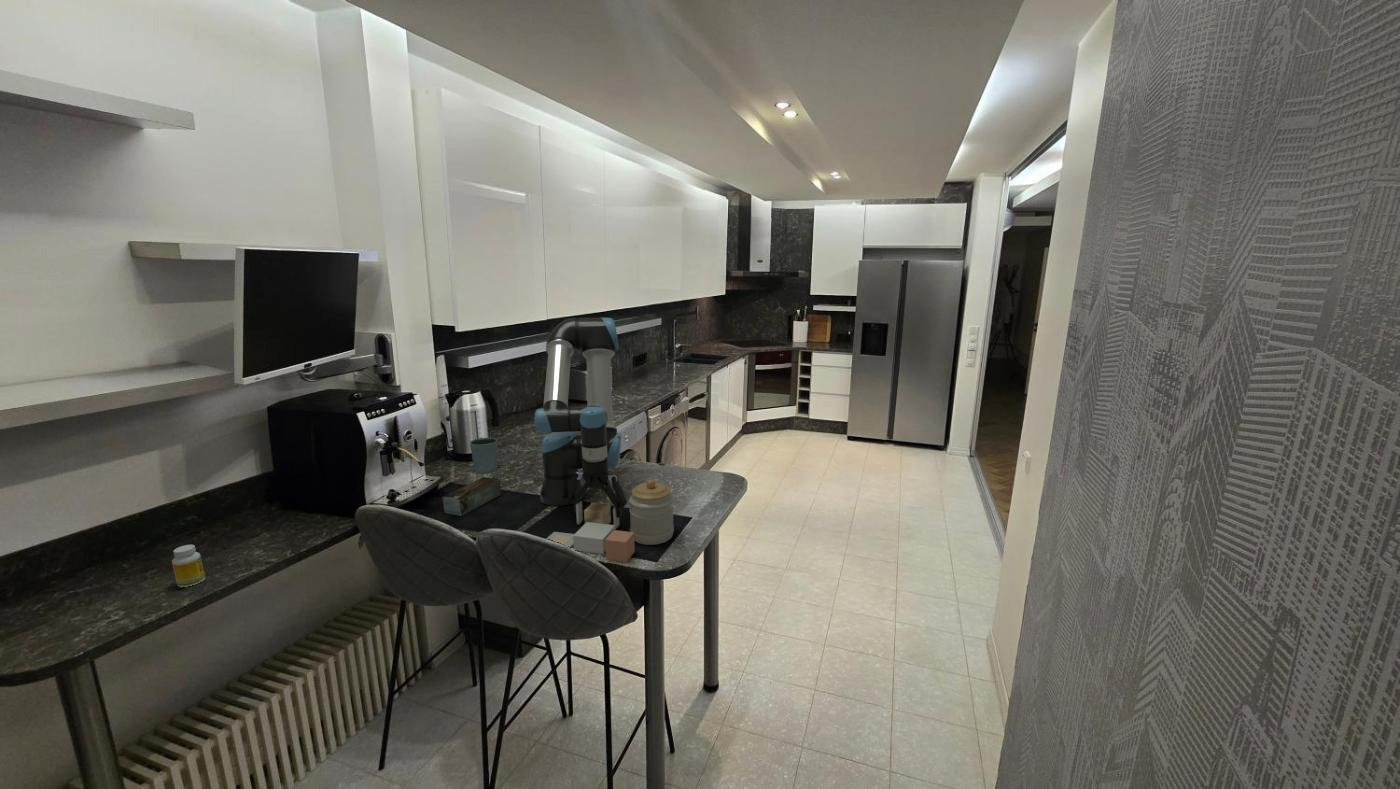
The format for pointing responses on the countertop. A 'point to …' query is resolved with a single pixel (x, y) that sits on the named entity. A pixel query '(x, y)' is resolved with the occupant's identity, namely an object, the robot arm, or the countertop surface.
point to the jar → (651, 513)
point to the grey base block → (592, 537)
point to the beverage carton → (471, 496)
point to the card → (562, 538)
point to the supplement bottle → (187, 566)
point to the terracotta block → (620, 546)
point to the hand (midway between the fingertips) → (598, 524)
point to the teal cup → (484, 454)
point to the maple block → (598, 513)
